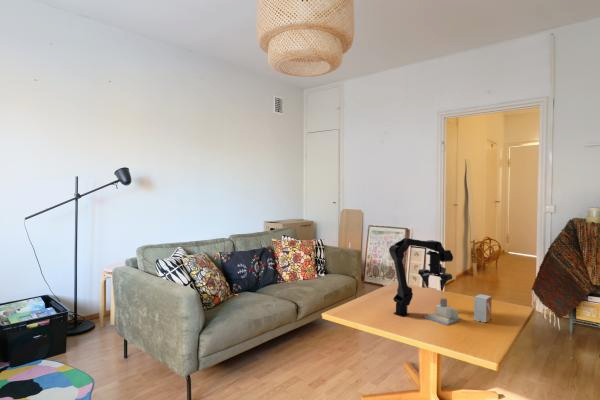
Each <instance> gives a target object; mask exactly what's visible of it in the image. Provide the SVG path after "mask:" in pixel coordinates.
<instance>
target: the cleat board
mask: <svg viewBox="0 0 600 400" xmlns="http://www.w3.org/2000/svg"><path fill="white" fill-rule="evenodd" d="M437 305H438V304H435V307H436V306H437ZM423 319H426V320H429V321H432V322H436V323H438V324H441V325H445V326H450V325H452V324H455V323H458V322H460V321H462V317H459V310H458V309H455V308H452V307H451V318H449V319H447V318H443V317H440V316H437V315H436V311H435V312H433V313H430V312H429V313H427V315H424V316H423Z"/></svg>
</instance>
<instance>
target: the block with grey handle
mask: <svg viewBox="0 0 600 400" xmlns="http://www.w3.org/2000/svg"><path fill="white" fill-rule="evenodd" d="M447 303H448V299H447V298H444V297H443V298H440V303H439V304H436V305H437V306H436V305H435V312H436V315H437V316H440V317H443V318H447V319H449V318H451V308H452V306H449V305H448V304H447Z"/></svg>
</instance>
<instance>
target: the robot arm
mask: <svg viewBox="0 0 600 400" xmlns="http://www.w3.org/2000/svg"><path fill="white" fill-rule="evenodd" d="M410 246H411V247H420V248H426V249H428V251H427V252H426V255H428V256H429V263H428V267H429V269H427V268H426V269H425V268H421V269H419V270H418V273H417V274H418V275H420V277H421V279H422V280H423V282H424V284H425V286H426V288H427V289H428V288H429V287H430V286H429V285H430V281H429V279H430V276H433V277H439V278H440V279H439V284H440V291H441V292H443V291H444V288H445V286H446V284H447V282H448V281H450V280H453V275H452V274H451V273H448V272H447V268H445V267H443V265H442V264H441V263H447V262H448V263H450V262H453V259H454V255H453V253H452V252H451V250H450V249H446V250H445V248H444V247H443V243H442V242H441V241H438V240H421V239H420V240H419V239H414V238H408V237H403V238H402V239H401V240H400V241H397V242H395V243H394V244H392V245H391V246H390V247H389V248H388V251H389V255H390V257H391V259H392V260H393V263H394V269H395V273H396V278H397V283H398V286H397V289H396V294H395V296H394V297H393V302H394V303H395V311H394V312H393V314H394V315H397V316H400V317H405V316H406V317H407V316H409V315H410V313H409V312H408V306H410V304H411V302H412V300H413V296H414V293H413V288H412V287H410V286H408V282H407V277H406V272H405V267H404V257H405V252H407V251H408V249H409V248H410Z"/></svg>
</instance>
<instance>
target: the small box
mask: <svg viewBox="0 0 600 400" xmlns="http://www.w3.org/2000/svg"><path fill="white" fill-rule="evenodd" d="M492 297H493V296H491V295H487V294H482V293H479V294H476V295H475V296H474V298H473V299H474V300H473V301H474V302H473V303H474V304H473V305H474V306H473V309H474V310H473V311H474V312H473V321H475V320H476V321H475V322H479V321H481V322H480V323H483V322H487V321H488V322H490V321H491V320H492V302H493V301H492ZM490 319H491V320H490ZM489 320H490V321H489ZM488 322H487V323H488Z"/></svg>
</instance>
